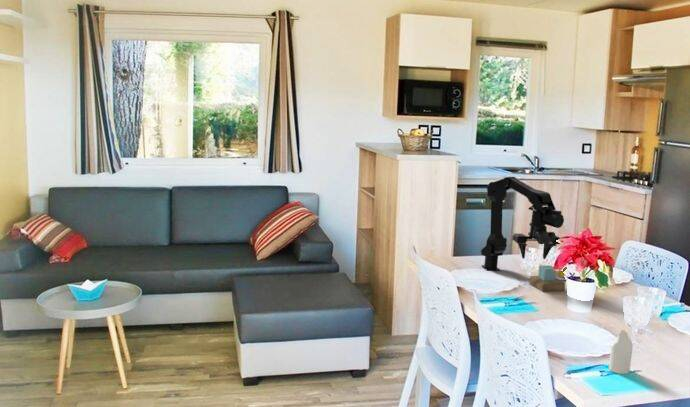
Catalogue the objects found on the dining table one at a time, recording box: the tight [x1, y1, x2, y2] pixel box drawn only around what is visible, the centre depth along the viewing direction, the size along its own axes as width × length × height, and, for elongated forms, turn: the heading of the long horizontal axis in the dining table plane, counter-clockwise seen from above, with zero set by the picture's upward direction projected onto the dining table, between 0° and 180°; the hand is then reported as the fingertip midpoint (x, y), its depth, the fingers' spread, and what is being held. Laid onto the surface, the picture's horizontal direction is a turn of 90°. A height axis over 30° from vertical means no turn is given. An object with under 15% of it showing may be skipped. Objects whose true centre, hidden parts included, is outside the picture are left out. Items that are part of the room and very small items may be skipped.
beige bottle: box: [608, 329, 634, 375], centre depth 179 cm, size 6×12×6 cm
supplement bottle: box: [555, 254, 567, 281], centre depth 270 cm, size 7×7×13 cm
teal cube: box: [537, 265, 556, 281], centre depth 256 cm, size 5×5×5 cm
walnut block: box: [529, 275, 566, 293], centre depth 256 cm, size 10×10×4 cm
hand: (533, 258), depth 259 cm, fingers open, 9 cm apart
